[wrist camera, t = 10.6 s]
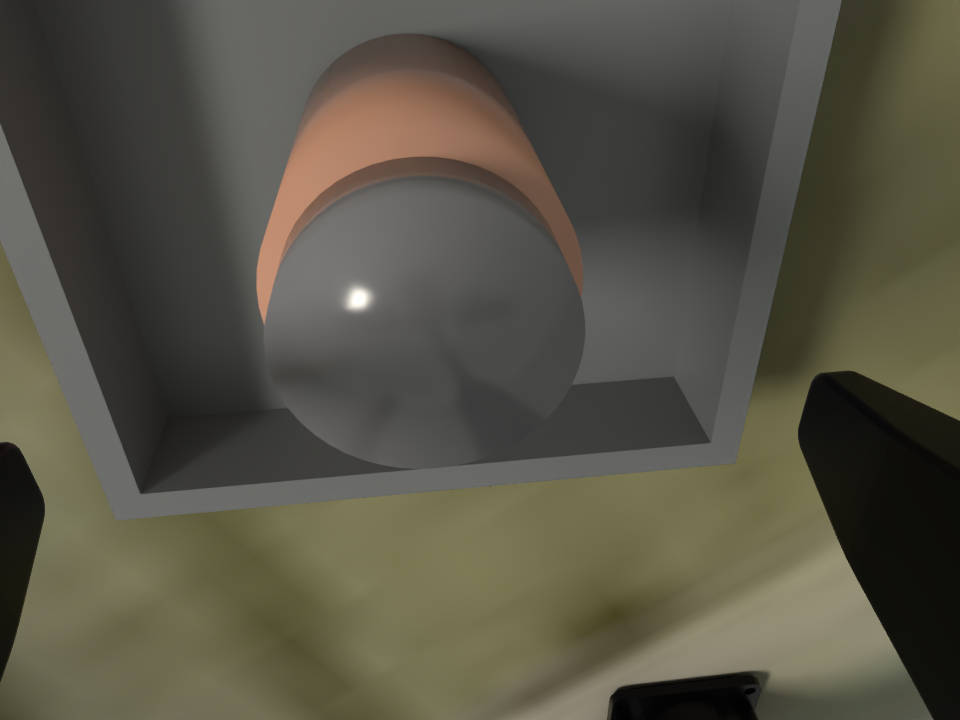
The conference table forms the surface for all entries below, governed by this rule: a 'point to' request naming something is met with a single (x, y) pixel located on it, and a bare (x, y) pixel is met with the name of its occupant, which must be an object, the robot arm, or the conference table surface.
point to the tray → (257, 178)
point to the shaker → (418, 263)
